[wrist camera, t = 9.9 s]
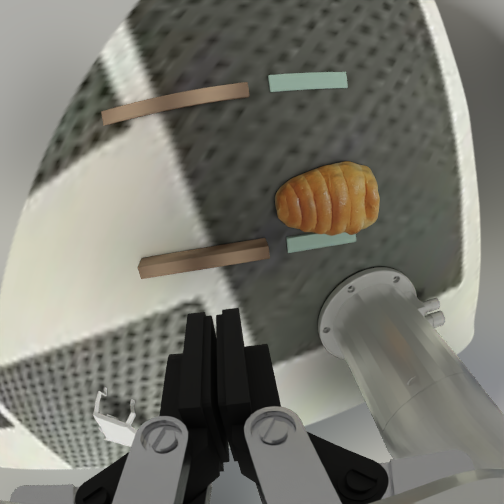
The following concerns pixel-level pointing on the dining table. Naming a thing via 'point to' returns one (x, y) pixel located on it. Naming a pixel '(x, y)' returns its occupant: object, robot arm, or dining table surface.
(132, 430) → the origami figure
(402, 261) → the dining table surface
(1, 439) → the dining table surface
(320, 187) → the pastry
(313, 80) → the strips
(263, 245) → the chute
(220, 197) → the dining table surface
